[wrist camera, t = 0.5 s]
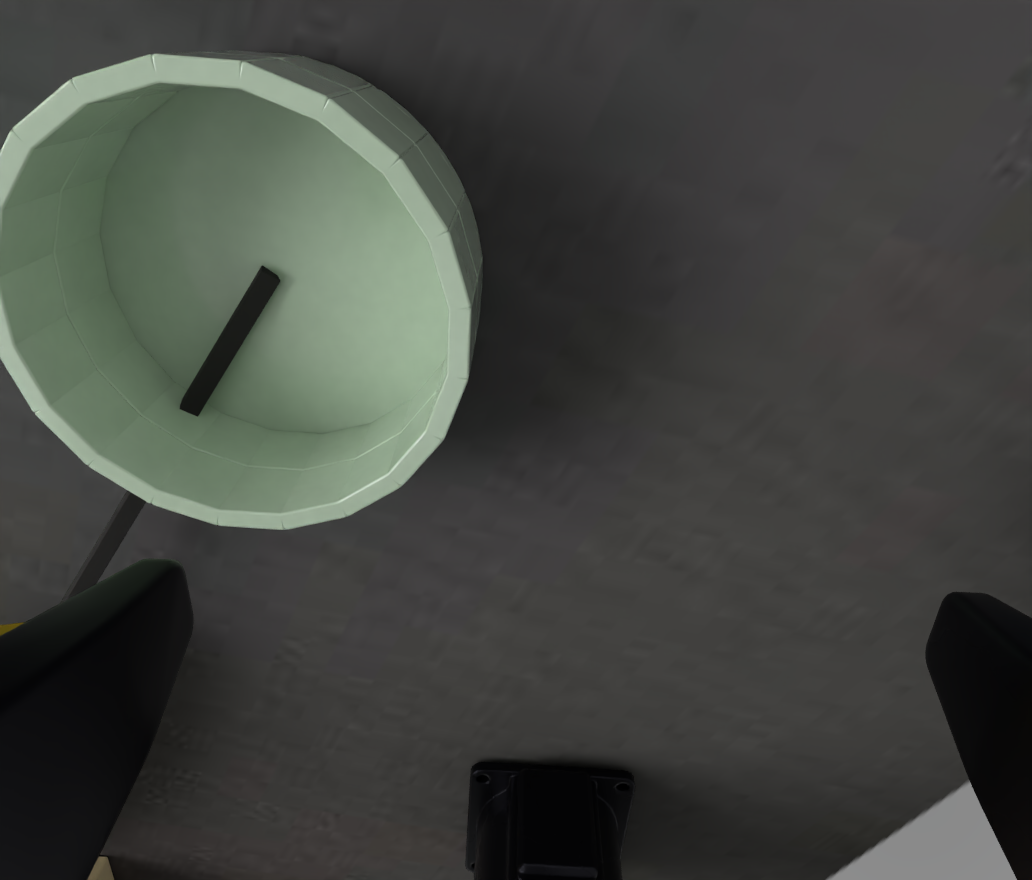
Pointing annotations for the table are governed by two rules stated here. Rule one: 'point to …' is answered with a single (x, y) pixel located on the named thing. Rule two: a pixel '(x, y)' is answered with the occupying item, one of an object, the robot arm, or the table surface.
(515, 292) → the table surface
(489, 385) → the table surface
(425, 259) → the bowl
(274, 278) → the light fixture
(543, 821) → the robot arm
